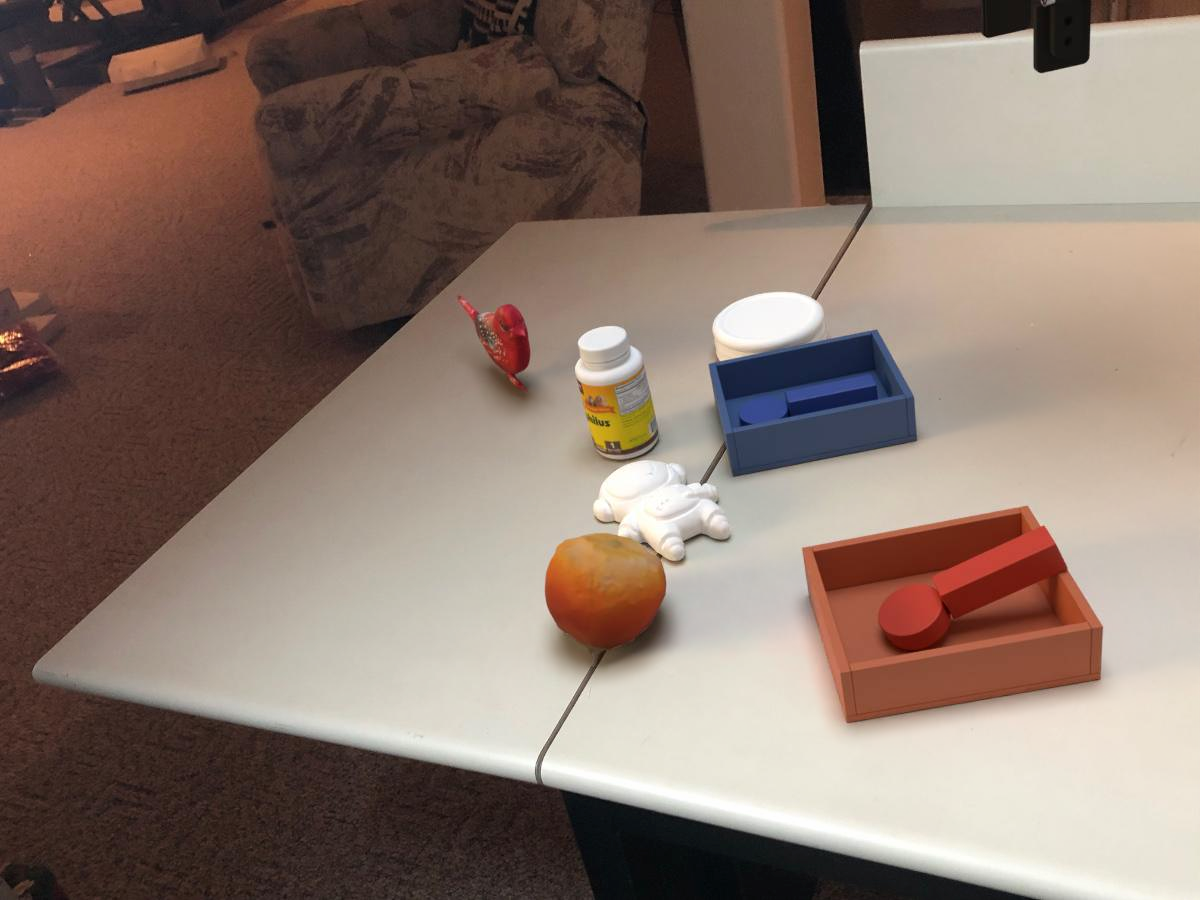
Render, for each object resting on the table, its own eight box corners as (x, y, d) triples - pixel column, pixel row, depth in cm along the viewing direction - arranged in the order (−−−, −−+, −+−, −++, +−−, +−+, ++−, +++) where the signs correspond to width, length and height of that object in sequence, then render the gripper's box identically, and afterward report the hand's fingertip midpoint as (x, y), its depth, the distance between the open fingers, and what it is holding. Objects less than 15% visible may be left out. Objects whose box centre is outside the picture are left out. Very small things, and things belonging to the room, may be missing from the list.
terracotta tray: (1027, 554, 70) (1027, 504, 68) (1100, 678, 60) (1103, 626, 58) (808, 594, 71) (801, 547, 69) (846, 723, 62) (840, 673, 59)
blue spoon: (870, 390, 89) (868, 367, 88) (882, 415, 85) (880, 391, 84) (737, 416, 90) (733, 394, 88) (744, 442, 86) (740, 419, 85)
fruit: (506, 633, 72) (529, 520, 70) (596, 621, 77) (620, 516, 75) (581, 689, 66) (608, 568, 64) (672, 672, 71) (700, 560, 70)
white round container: (695, 361, 100) (688, 327, 98) (766, 314, 105) (761, 281, 103) (777, 388, 93) (772, 353, 91) (850, 336, 98) (846, 302, 96)
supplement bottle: (584, 444, 92) (556, 339, 87) (640, 417, 94) (615, 313, 88) (614, 471, 88) (586, 362, 82) (672, 443, 89) (649, 334, 84)
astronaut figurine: (642, 580, 76) (634, 547, 74) (581, 499, 85) (572, 468, 84) (752, 532, 78) (746, 498, 76) (679, 458, 87) (672, 426, 86)
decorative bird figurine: (533, 417, 98) (504, 320, 92) (462, 353, 112) (433, 265, 106) (560, 404, 99) (533, 307, 93) (486, 343, 113) (459, 255, 107)
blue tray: (880, 370, 92) (877, 328, 90) (917, 440, 82) (914, 396, 80) (715, 403, 93) (708, 363, 91) (733, 476, 84) (725, 433, 82)
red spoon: (1049, 538, 64) (1036, 513, 63) (1076, 581, 61) (1063, 555, 60) (879, 615, 67) (865, 592, 66) (896, 660, 64) (881, 637, 63)
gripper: (1172, -279, 54) (1151, 68, 63) (1042, -272, 68) (1040, 9, 77) (1019, -241, 54) (1021, 97, 64) (922, -242, 69) (935, 33, 78)
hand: (1031, 49), depth 71 cm, fingers open, 9 cm apart
